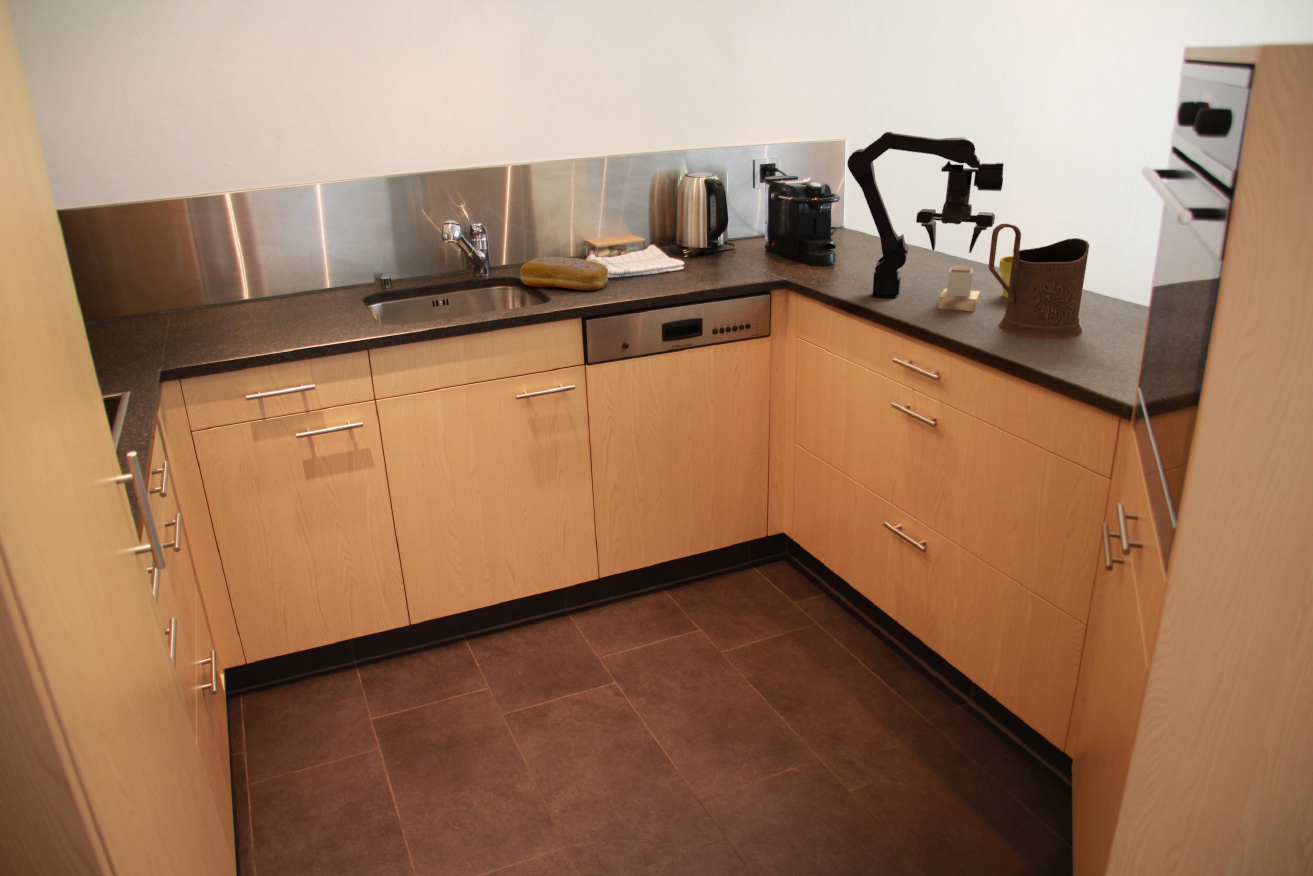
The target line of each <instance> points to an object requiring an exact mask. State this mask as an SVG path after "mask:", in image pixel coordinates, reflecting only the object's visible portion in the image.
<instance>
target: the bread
mask: <svg viewBox="0 0 1313 876" xmlns="http://www.w3.org/2000/svg"><path fill="white" fill-rule="evenodd" d="M519 274H520V276H519V277H520V278H519V279H520V282H522V284H524V285H525V286H527V287H531V288H556V287H558V288H564V289H570V290H576V291H582V292H592V291H593V292H594V291H600V290H601V289H604V288H605V287H606V286H607V285H608V281H609V278H608V277H609V276H608V274H609V272H608V269H607V267H606V265H603V264H602V263H598V262H594V261H592V260H586V259H584V258H583V259H582V258H577V257H576V258H574V257H562V256H554V257H553V256H549V257H547V256H543V257H542V256H541V257H537V258H533V259H530V260H528V261H527V262H525V263H524V264H522V266H521V267H520V270H519Z"/></svg>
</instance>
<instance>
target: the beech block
mask: <svg viewBox="0 0 1313 876" xmlns="http://www.w3.org/2000/svg"><path fill="white" fill-rule="evenodd" d="M981 293H982V291H980V290H971V291H970V297H960V296H947V288H944V289H943V291H942V292H941V293H940V295H939V296H938V304H937V309H942V310H951V309H953V310H954V311H963V310H964V311H967V312H976V310H978V307H979V305H980V302H981V295H982V294H981Z"/></svg>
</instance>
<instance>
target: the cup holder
mask: <svg viewBox="0 0 1313 876" xmlns="http://www.w3.org/2000/svg"><path fill="white" fill-rule="evenodd" d="M1004 228H1011V229H1012V230H1013V231H1014V235H1015V237H1014V244H1013V251H1012V253H1013V255H1012V256H1013V259H1012V267H1011V275H1010V283H1009V287H1008V286H1007V284H1006V283H1005V282H1004V281H1003V279H1002V277H1001V276H1000V274H999V272H998V271H997V270H996V269H995V261H996V253H997V252H996V251H997V244H998V239H999V238H998V237H999V233H1000V231H1002V230H1003V229H1004ZM1019 228H1020V227H1018V226H1016V225H1013V224H1011V223H1000V224H999V225H996V226H995V228H994V229H992V233H991V238H990V239H991V242H990V249H989V257H988V258H989V259H988V270H989V271H990V272H991V274H992V276H994V278H995V279H996V280H997V281H998V283H999V284H1000V285H1001V286H1003V288H1004V289H1005V290H1006V291H1007V293H1008V298H1006V299H1007V300H1006V308H1005V313H1004V314H1003V318H1002V319H1001V321H1000V322H999V323H998V325H997V326H998V328H999V329H1000V330H1001V331H1003V332H1004V333H1007V334H1009V335H1014V336H1015V337H1016V336H1017V337H1020V338H1026V339H1034V340H1035V339H1036V340H1047V341H1048V340H1049V341H1050V340H1054V341H1055V340H1057V341H1058V340H1067V339H1073V338H1077V337H1079V336H1081V335H1082V334H1083V329H1082V327H1081V324H1080V318H1079V316H1080V307H1081V301H1082V296H1083V295H1082V294H1083V291H1084V290H1083V288H1084V283H1085V282H1084V281H1085V274H1086V270H1087V262H1088V258H1089V250H1090V244H1089V241H1088V240H1085V239H1083V238H1076V237H1074V238H1066V239H1063V240H1061V241H1058V242H1054V243H1052V244H1049V245H1045V246H1040V247H1033V248H1026V249H1025V248H1024V249H1020V248H1021V239H1022V233H1021V232H1022V231H1021V230H1020V229H1019Z"/></svg>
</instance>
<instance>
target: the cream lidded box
mask: <svg viewBox="0 0 1313 876" xmlns="http://www.w3.org/2000/svg"><path fill="white" fill-rule="evenodd" d="M951 266H952V267H949V272H948V280H947V288H946V289H947V296H960V297H970V291H972V281H973V273H974V272H973V268H971V266H961V265H959V266H958V265H951Z"/></svg>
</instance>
